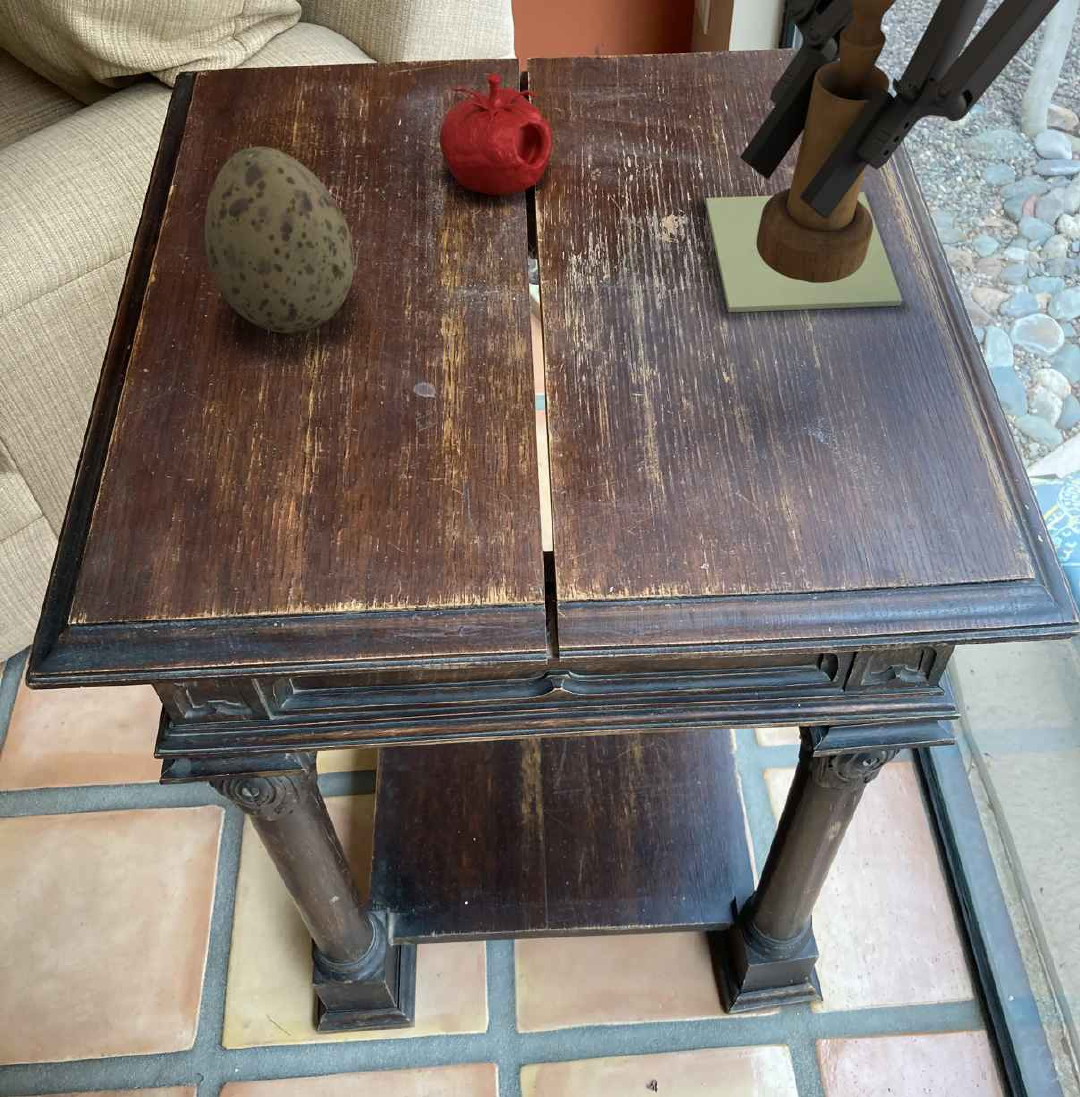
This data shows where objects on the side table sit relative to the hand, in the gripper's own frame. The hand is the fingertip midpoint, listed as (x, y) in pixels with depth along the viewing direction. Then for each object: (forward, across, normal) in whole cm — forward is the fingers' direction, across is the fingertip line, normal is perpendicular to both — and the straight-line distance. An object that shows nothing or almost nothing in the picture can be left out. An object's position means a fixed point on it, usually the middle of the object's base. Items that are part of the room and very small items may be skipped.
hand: (783, 187), depth 58 cm
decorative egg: (+28, +32, -4) cm, 43 cm away
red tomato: (+12, +36, -20) cm, 43 cm away
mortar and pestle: (+2, 0, -7) cm, 7 cm away
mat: (+2, +12, -30) cm, 32 cm away
